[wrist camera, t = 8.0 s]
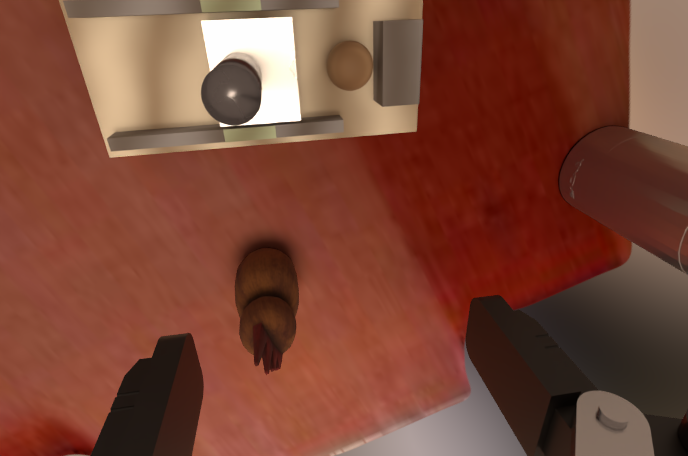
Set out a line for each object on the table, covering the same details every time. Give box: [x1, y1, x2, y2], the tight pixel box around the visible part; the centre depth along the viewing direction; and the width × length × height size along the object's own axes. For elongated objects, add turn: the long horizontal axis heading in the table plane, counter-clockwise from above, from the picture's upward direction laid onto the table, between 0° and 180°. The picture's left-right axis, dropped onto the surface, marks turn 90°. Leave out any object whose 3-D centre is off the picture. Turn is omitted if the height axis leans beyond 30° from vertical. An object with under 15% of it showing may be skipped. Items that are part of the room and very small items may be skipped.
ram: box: [201, 17, 301, 127], centre depth 26 cm, size 6×7×12 cm
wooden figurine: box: [235, 248, 299, 375], centre depth 35 cm, size 7×6×15 cm
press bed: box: [59, 0, 423, 158], centre depth 31 cm, size 26×12×4 cm, turn 92°
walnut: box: [327, 41, 373, 91], centre depth 31 cm, size 4×4×4 cm
